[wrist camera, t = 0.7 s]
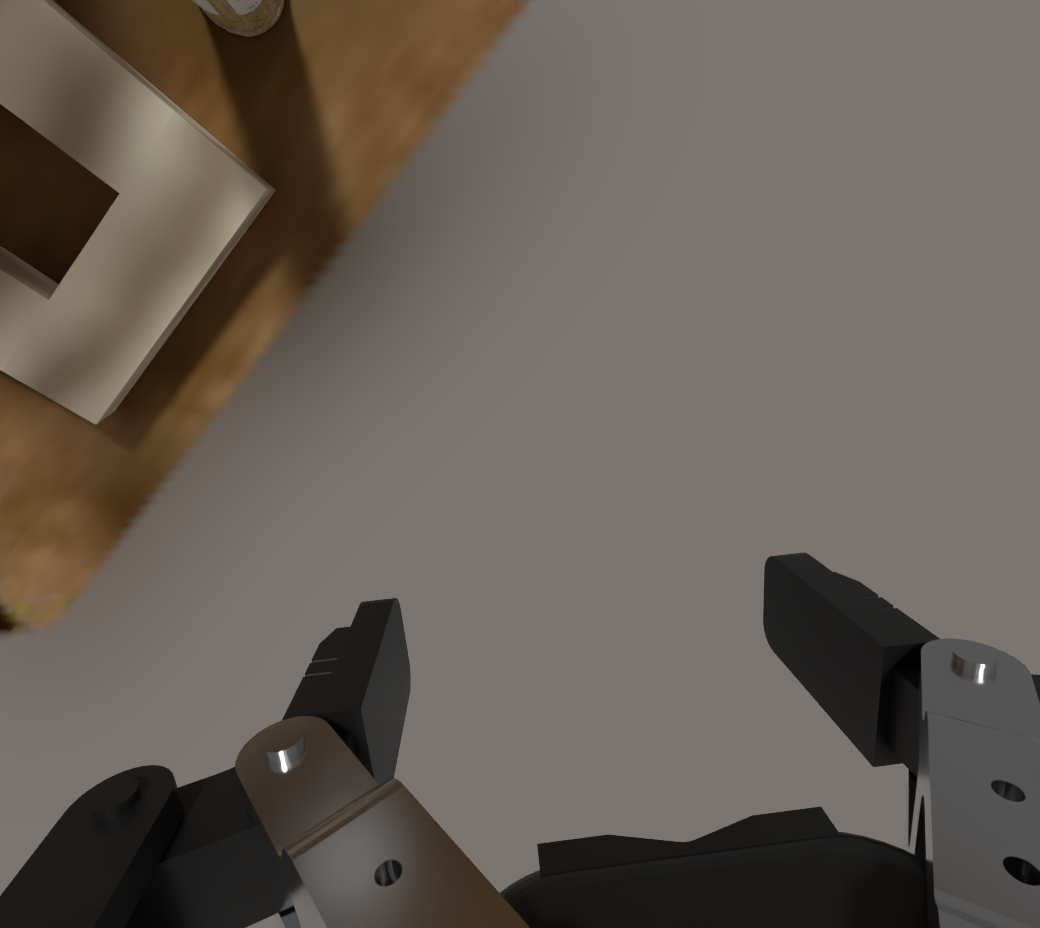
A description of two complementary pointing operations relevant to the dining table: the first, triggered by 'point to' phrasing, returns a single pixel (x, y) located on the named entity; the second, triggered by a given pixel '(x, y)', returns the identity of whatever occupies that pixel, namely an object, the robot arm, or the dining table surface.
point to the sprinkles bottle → (243, 14)
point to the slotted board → (112, 213)
